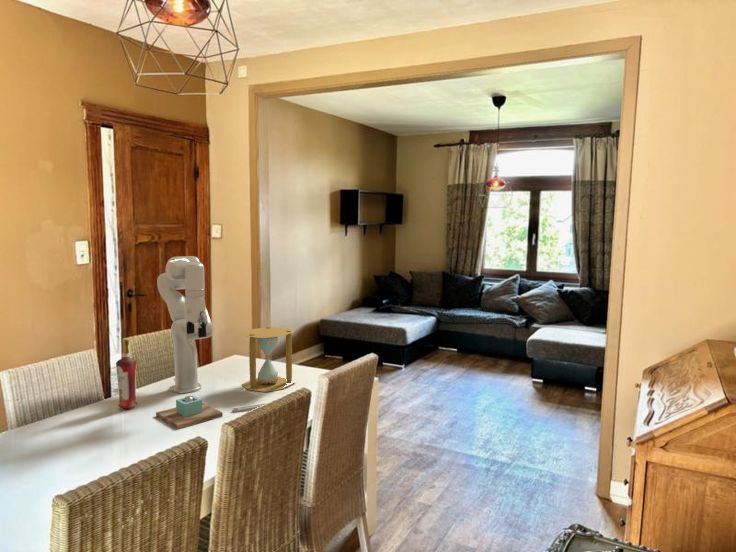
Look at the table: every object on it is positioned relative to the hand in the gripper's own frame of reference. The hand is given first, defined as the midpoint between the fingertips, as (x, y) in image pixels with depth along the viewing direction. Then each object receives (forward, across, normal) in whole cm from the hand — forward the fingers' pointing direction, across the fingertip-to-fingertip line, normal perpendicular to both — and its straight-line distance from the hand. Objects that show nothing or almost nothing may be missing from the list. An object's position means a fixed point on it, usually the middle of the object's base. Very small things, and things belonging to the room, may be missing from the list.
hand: (196, 335), depth 216 cm
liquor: (+28, -14, -23) cm, 39 cm away
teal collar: (+27, +12, -10) cm, 31 cm away
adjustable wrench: (+29, +23, +16) cm, 41 cm away
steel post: (+27, +12, -10) cm, 31 cm away
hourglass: (+29, 0, +35) cm, 45 cm away
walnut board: (+28, +12, -10) cm, 32 cm away
